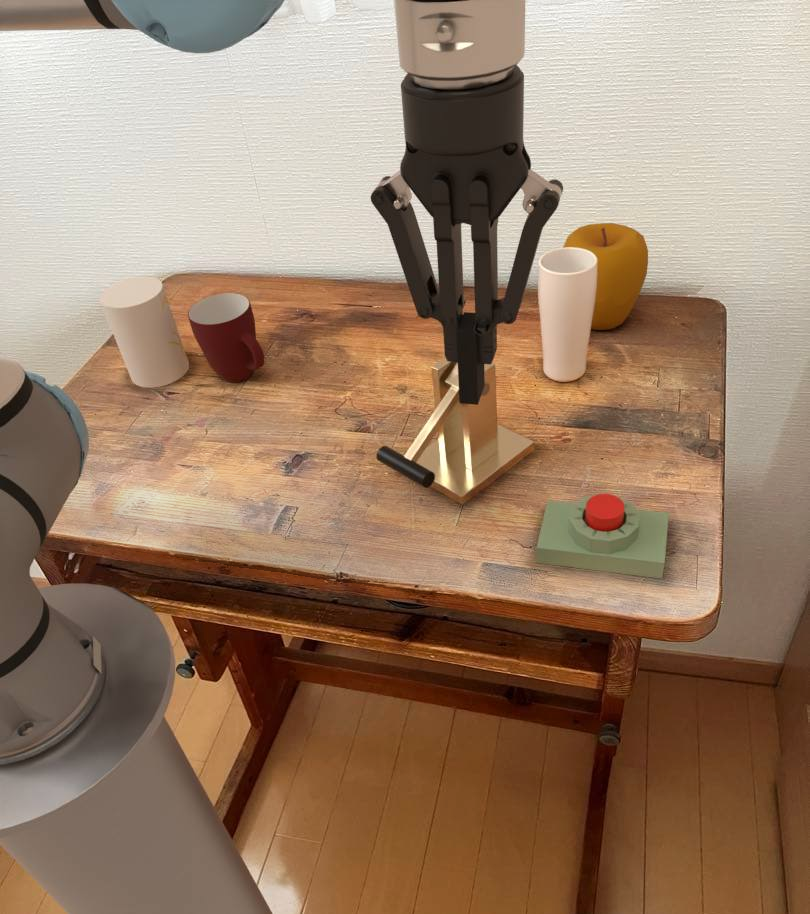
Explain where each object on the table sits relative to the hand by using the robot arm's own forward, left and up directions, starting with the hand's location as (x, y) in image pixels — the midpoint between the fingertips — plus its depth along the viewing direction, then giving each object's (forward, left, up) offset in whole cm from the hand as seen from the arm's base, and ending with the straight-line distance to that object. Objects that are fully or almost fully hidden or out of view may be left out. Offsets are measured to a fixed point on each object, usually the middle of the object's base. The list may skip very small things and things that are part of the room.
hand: (472, 393), depth 67 cm
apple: (+6, +49, -22) cm, 54 cm away
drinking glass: (+3, +36, -22) cm, 42 cm away
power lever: (-7, +14, -14) cm, 21 cm away
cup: (-52, +30, -22) cm, 64 cm away
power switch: (-5, +17, -22) cm, 28 cm away
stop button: (+11, +6, -18) cm, 22 cm away
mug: (-39, +30, -22) cm, 54 cm away
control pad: (+11, +6, -22) cm, 25 cm away
